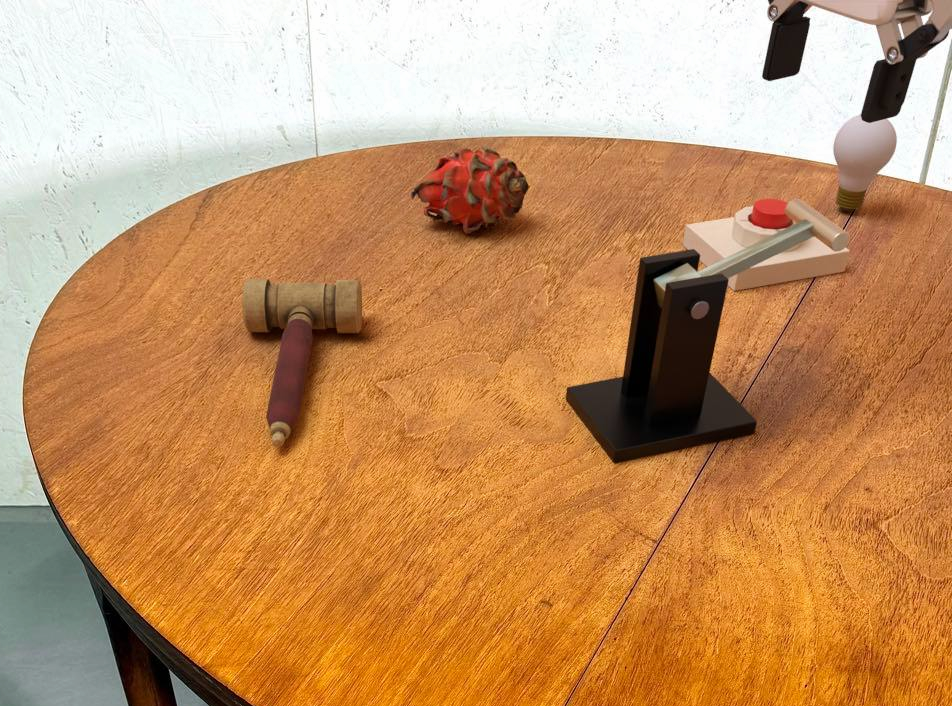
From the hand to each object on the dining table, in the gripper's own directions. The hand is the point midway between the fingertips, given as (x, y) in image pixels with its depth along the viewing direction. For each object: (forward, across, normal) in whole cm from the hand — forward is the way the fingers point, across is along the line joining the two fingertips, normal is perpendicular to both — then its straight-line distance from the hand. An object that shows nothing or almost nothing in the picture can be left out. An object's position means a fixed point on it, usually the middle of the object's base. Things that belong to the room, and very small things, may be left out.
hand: (827, 96), depth 77 cm
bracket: (+22, -3, +14) cm, 26 cm away
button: (+18, +13, -12) cm, 25 cm away
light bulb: (+22, +17, -27) cm, 39 cm away
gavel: (+22, +16, +37) cm, 46 cm away
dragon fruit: (+22, +34, +9) cm, 41 cm away
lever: (+10, -4, +9) cm, 14 cm away
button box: (+22, +13, -12) cm, 28 cm away
